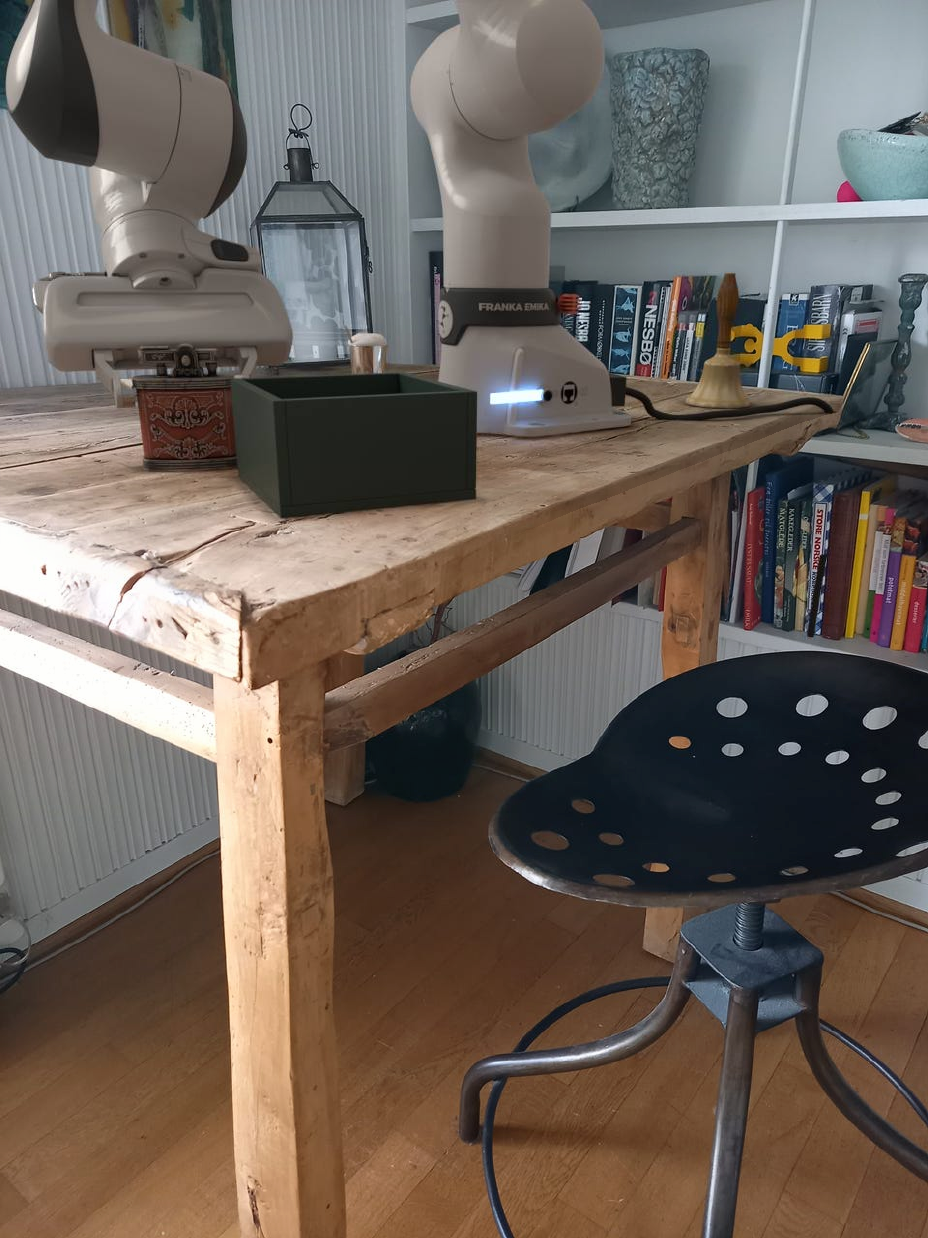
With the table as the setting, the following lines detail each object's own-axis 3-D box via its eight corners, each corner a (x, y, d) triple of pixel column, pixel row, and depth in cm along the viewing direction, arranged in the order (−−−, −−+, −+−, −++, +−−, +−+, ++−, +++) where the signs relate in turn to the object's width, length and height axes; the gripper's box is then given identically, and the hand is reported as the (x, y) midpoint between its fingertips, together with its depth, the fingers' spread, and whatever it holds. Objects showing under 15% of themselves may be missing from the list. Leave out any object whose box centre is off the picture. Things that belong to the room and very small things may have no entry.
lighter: (241, 459, 79) (231, 341, 76) (241, 468, 76) (230, 346, 72) (145, 463, 78) (130, 342, 74) (141, 472, 75) (125, 347, 71)
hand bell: (740, 410, 112) (756, 273, 106) (676, 405, 116) (688, 272, 110) (758, 402, 119) (773, 273, 113) (696, 398, 123) (708, 272, 117)
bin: (405, 463, 79) (404, 371, 76) (476, 499, 67) (477, 391, 64) (238, 476, 73) (229, 378, 71) (280, 518, 61) (272, 401, 58)
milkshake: (337, 412, 108) (333, 324, 104) (373, 408, 111) (371, 323, 107) (359, 417, 104) (357, 326, 101) (396, 412, 108) (394, 325, 104)
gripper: (25, 243, 73) (45, 380, 68) (276, 249, 81) (310, 371, 76) (33, 300, 78) (53, 431, 73) (268, 300, 86) (300, 418, 81)
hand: (186, 401), depth 75 cm, fingers open, 8 cm apart
